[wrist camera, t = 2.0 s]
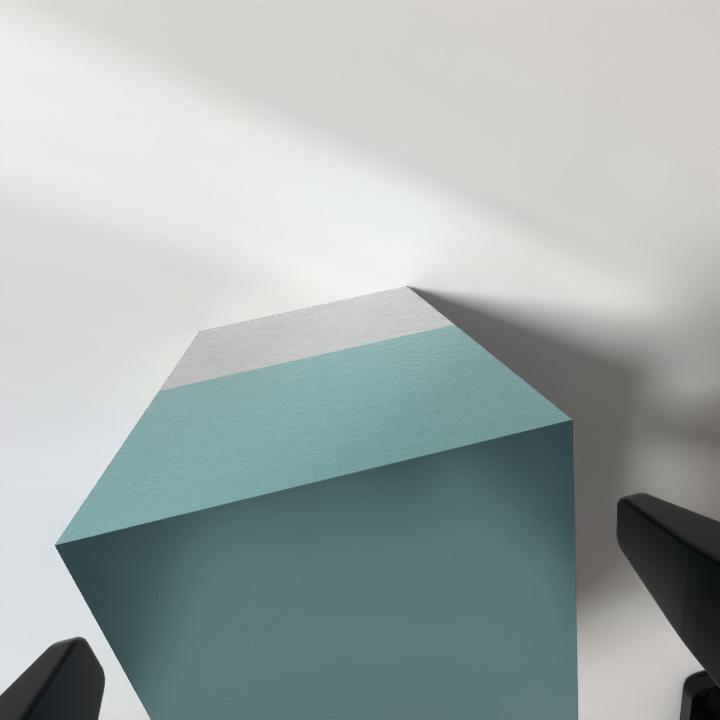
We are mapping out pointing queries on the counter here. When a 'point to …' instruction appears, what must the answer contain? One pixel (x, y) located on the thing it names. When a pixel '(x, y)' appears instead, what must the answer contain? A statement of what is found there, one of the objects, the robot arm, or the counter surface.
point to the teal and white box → (339, 527)
